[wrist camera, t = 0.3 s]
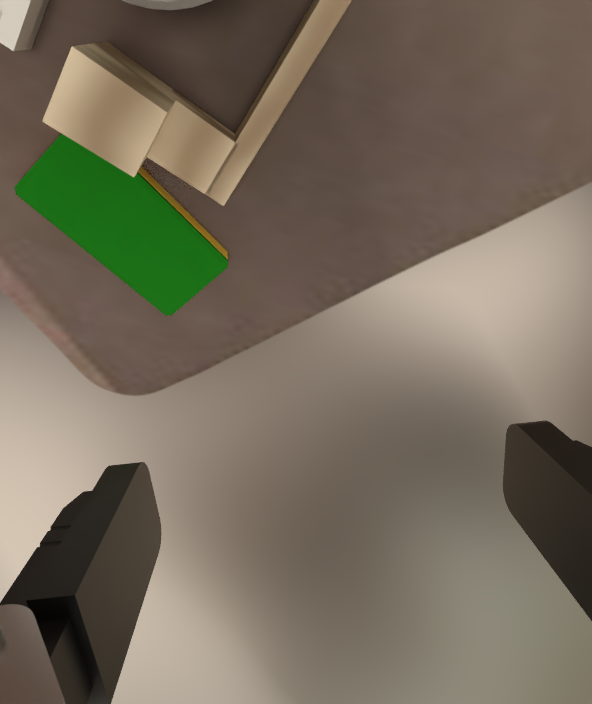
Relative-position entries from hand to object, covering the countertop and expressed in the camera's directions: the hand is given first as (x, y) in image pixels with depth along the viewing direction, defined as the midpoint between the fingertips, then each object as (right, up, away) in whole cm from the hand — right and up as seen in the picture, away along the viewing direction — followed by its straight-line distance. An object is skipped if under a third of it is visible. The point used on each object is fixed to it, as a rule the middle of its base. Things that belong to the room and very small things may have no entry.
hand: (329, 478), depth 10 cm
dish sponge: (-13, +13, +26) cm, 32 cm away
